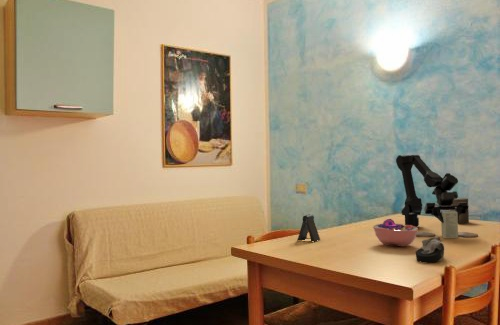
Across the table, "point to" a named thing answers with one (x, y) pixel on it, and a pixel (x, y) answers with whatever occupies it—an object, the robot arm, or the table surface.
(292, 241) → the table surface
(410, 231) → the cell model
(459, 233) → the walnut coaster
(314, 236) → the black folding stand
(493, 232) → the table surface
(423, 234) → the coaster
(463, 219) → the pillar candle
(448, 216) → the skincare box
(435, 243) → the caster wheel
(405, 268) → the table surface
